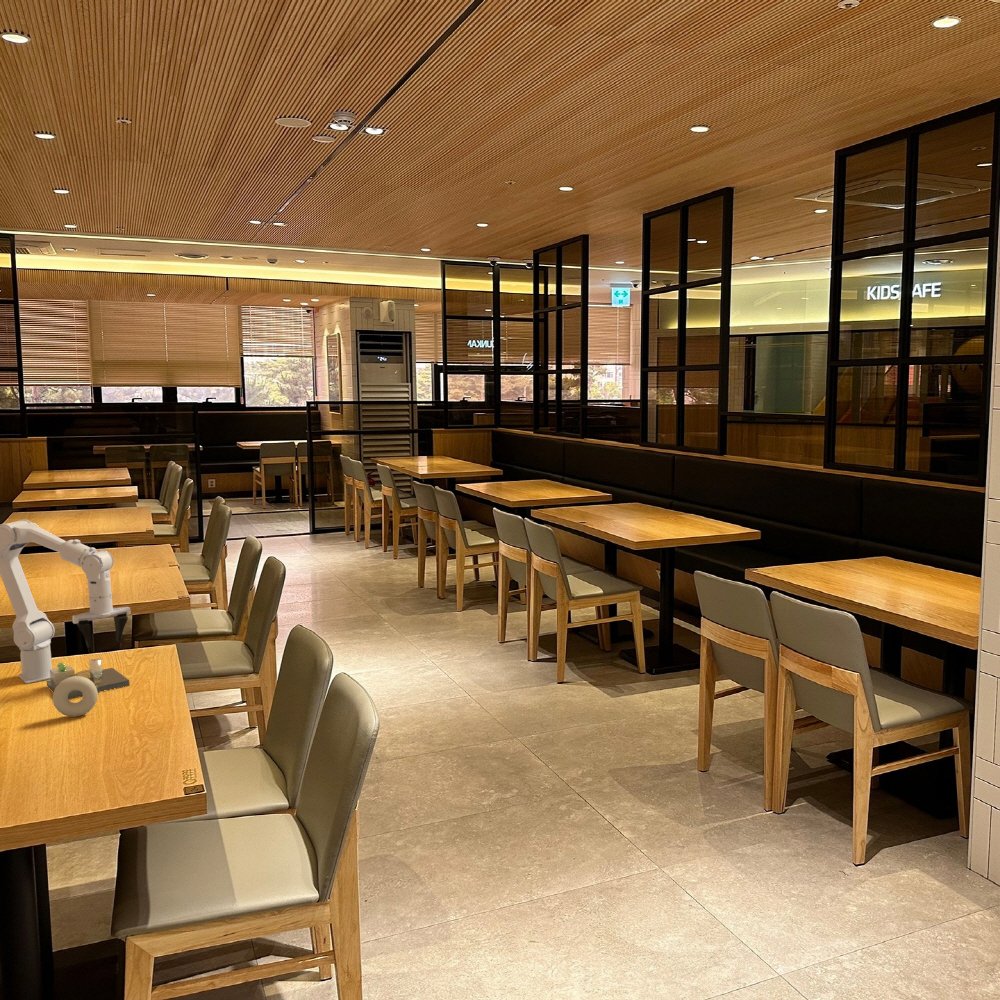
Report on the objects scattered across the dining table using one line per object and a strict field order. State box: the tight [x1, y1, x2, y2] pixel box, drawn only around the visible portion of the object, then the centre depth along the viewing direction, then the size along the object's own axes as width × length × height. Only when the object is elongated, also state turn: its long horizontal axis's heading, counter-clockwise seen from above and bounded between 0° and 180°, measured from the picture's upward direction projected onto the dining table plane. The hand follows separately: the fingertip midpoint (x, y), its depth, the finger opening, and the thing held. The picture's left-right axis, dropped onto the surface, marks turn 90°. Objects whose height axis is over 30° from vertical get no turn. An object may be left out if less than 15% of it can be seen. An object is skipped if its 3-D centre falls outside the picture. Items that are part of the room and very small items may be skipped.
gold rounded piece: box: [75, 658, 103, 684], centre depth 238 cm, size 12×6×7 cm, turn 44°
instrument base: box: [46, 662, 130, 699], centre depth 240 cm, size 15×17×6 cm
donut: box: [52, 676, 99, 718], centre depth 217 cm, size 10×4×10 cm, turn 113°
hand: (104, 644), depth 244 cm, fingers open, 7 cm apart
